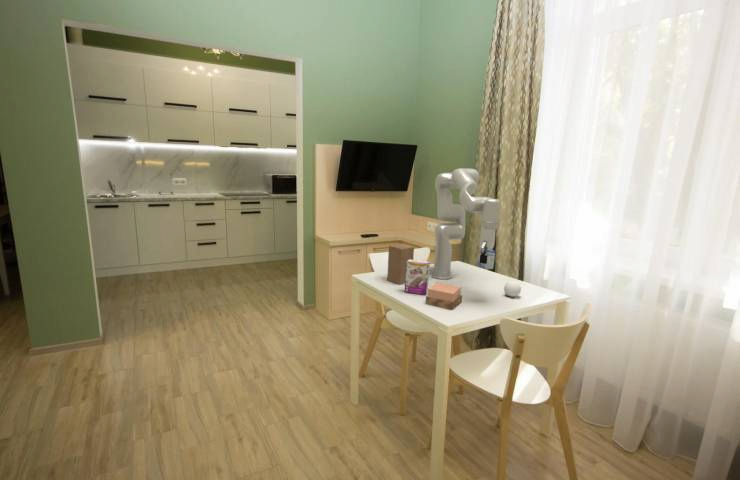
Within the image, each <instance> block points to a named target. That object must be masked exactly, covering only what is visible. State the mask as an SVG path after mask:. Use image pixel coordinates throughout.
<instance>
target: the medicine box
mask: <svg viewBox="0 0 740 480" xmlns="http://www.w3.org/2000/svg"><path fill="white" fill-rule="evenodd" d="M478 250H479V251H478V259H477V265H478V266H479V267H481V268H483V269H484V270H493V269H494V265H495V256H496V251H495V250H494V249H493V250H489V251H488V252H487V263H486V264H483V263H480V253H481V249H479V248H478ZM485 252H486V251H485Z"/></svg>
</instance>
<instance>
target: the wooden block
mask: <svg viewBox="0 0 740 480" xmlns="http://www.w3.org/2000/svg"><path fill="white" fill-rule="evenodd" d="M414 252H415V246H412V245H410V244H409V245H408V244H404V243H398V244H397V243H396V244H391V245H389V246H388V259H387V276H386V277H387V279H386V280H387V281H389V282H391V283H394V284H397V285H405V277H406V263H407V261H408V260H409V259H410V260H414Z"/></svg>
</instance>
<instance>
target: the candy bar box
mask: <svg viewBox="0 0 740 480" xmlns="http://www.w3.org/2000/svg"><path fill="white" fill-rule="evenodd" d="M430 264H431V262H430V261H424V260H418V259H417V260H415V259H413V260H410V259H409V260H408V261H407V263H406V277H405V283H404V293H408V294H409V293H410V294H416V295H421V296H427V295H428V289H429V279H430V276H429V275H430V271H429V268H430V267H431V265H430Z"/></svg>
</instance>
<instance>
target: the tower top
mask: <svg viewBox="0 0 740 480" xmlns="http://www.w3.org/2000/svg"><path fill="white" fill-rule="evenodd" d="M461 292H462V287H461V286H458V285H452V284H448V283H441V282H436V283H434V284H433V285H431V286H430V287H428V292H427V296H428V297H430V298H434V299H439V300H444V301H448V302H454V301H455V300H456V299H457V298H458V297H459V296H460V295H461Z"/></svg>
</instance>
